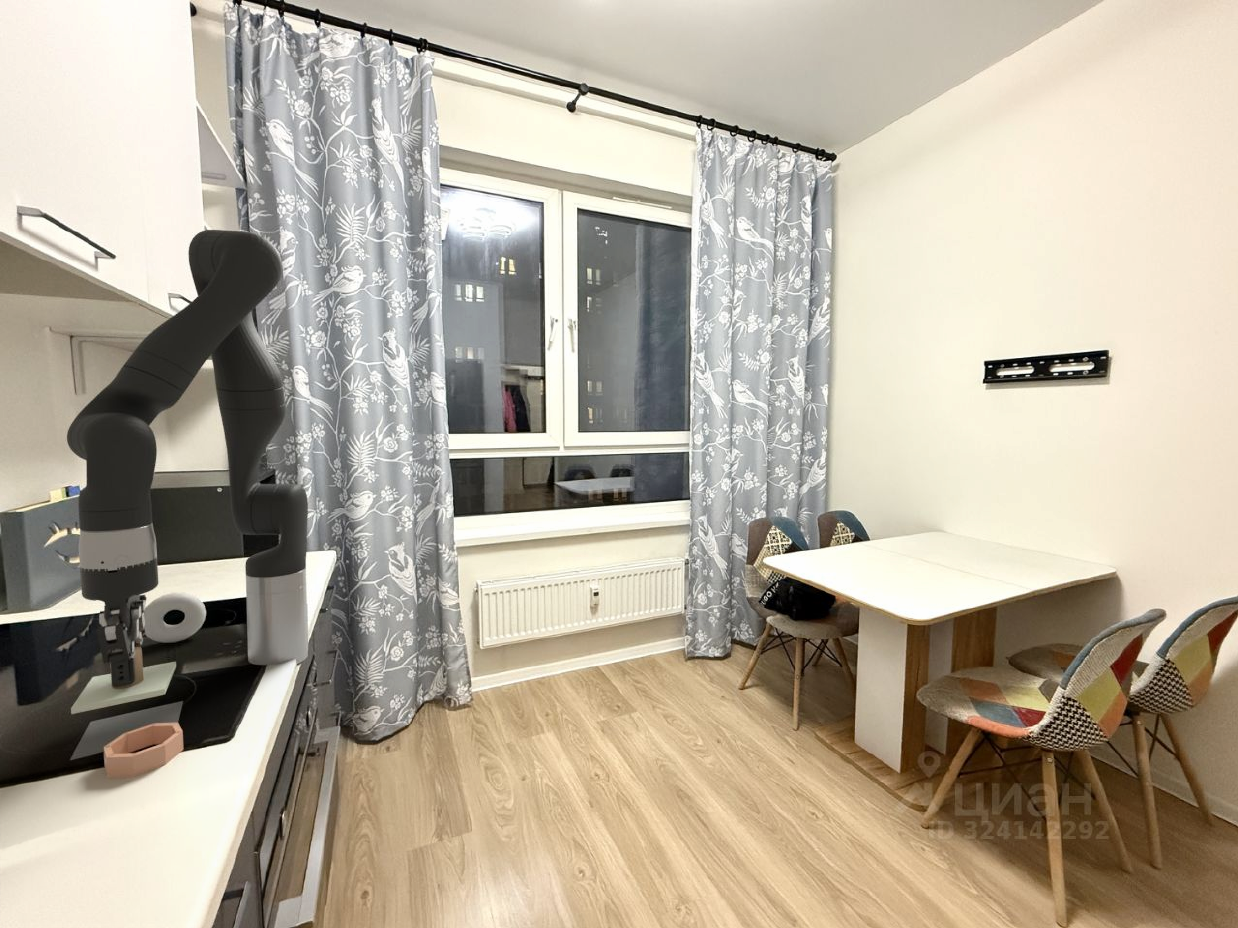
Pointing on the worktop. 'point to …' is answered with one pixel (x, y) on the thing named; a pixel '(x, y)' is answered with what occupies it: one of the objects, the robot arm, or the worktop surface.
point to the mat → (123, 727)
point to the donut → (185, 629)
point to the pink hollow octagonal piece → (134, 764)
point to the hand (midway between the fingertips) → (127, 678)
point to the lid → (144, 686)
